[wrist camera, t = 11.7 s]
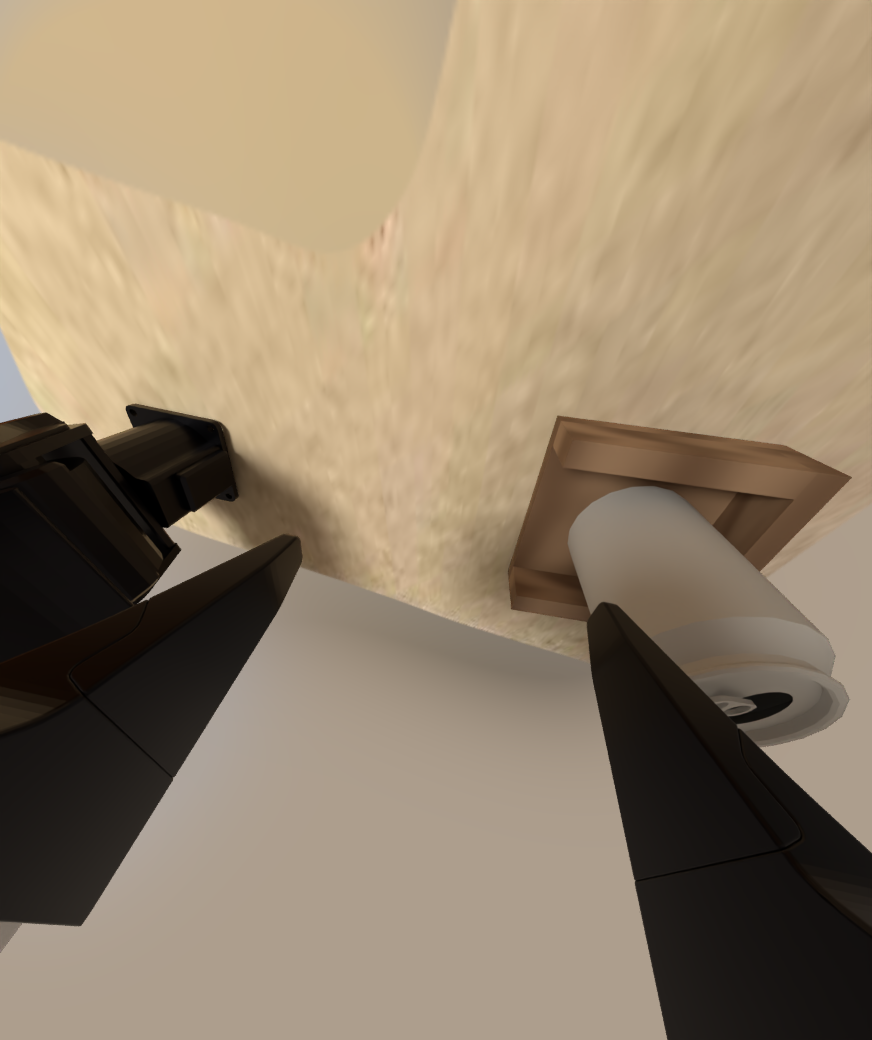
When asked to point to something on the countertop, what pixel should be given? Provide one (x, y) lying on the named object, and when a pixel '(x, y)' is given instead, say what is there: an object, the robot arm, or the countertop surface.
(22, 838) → the robot arm
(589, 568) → the can
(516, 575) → the brown wooden square tray
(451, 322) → the countertop surface
